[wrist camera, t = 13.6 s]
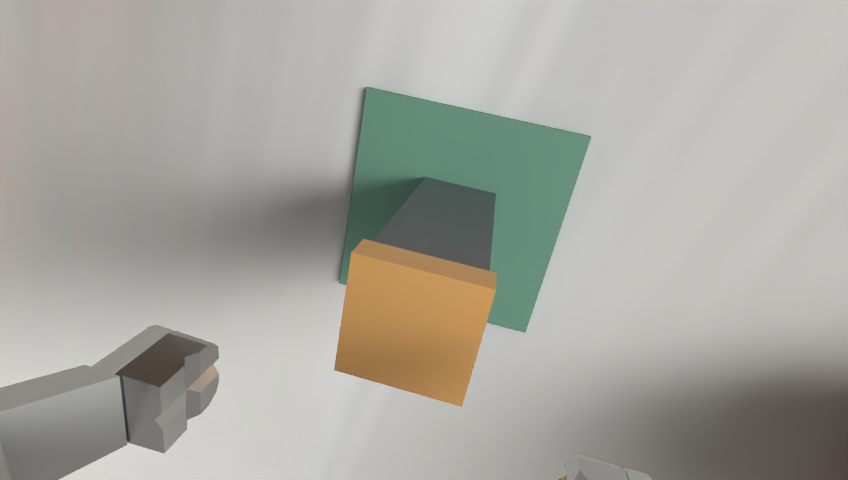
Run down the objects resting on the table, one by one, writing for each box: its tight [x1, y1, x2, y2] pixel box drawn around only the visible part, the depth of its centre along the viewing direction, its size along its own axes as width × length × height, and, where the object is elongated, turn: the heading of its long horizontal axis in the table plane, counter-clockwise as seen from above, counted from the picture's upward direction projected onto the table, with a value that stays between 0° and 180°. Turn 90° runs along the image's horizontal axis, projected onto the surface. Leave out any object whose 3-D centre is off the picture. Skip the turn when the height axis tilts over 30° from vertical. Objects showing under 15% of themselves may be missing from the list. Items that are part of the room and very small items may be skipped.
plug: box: [334, 177, 497, 407], centre depth 19 cm, size 4×4×12 cm
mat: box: [339, 87, 591, 332], centre depth 25 cm, size 12×12×1 cm
